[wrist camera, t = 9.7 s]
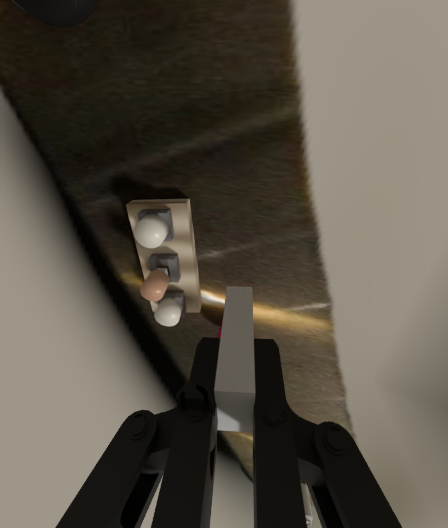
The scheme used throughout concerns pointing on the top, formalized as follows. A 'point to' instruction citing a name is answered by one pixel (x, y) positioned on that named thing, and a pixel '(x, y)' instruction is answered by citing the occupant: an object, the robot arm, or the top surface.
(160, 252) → the knob board
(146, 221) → the knob
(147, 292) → the middle pink knob
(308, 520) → the can
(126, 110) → the top surface
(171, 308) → the knob
